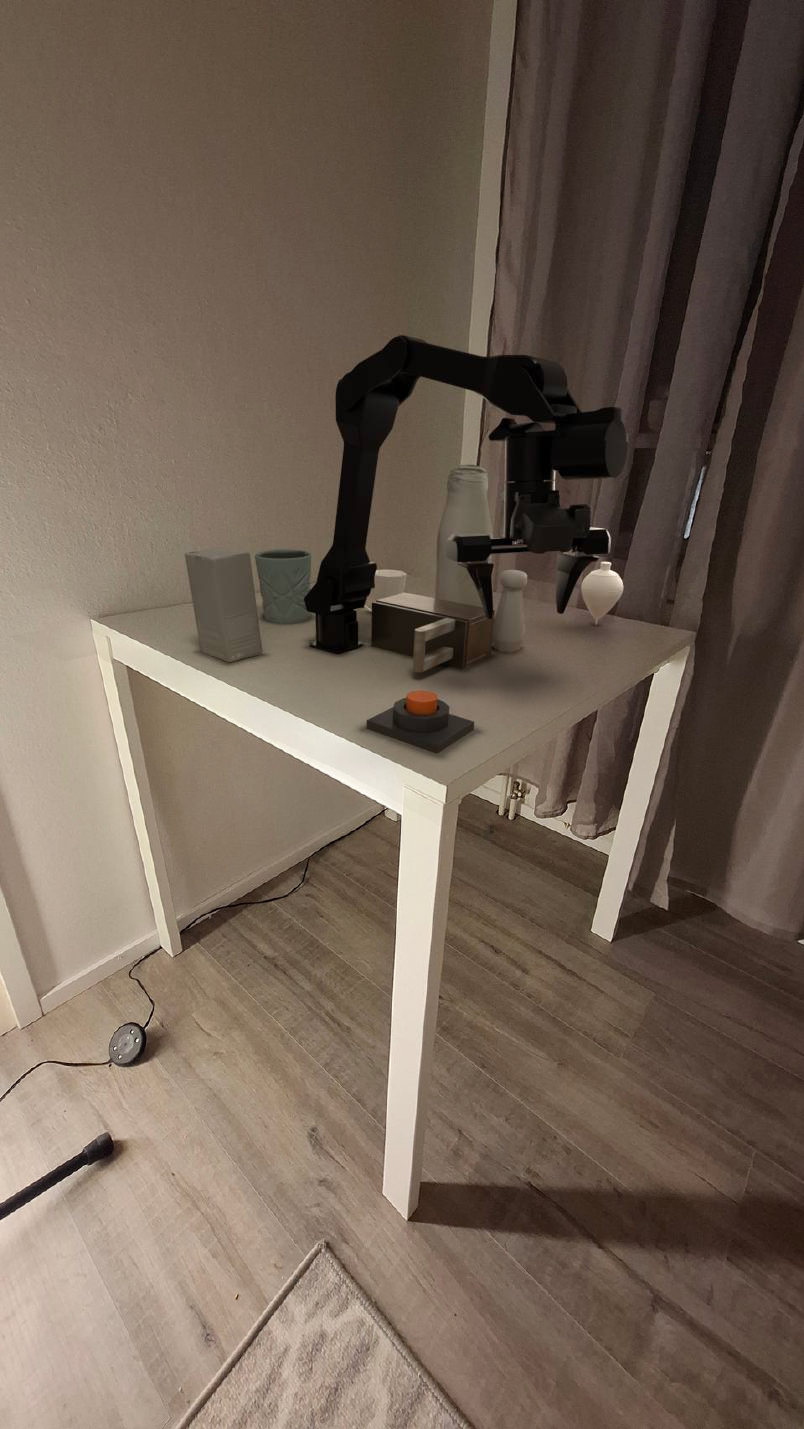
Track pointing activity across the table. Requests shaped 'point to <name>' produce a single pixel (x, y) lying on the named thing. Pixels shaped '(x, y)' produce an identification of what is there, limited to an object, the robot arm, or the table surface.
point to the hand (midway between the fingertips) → (525, 615)
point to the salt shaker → (510, 613)
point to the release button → (421, 702)
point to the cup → (388, 584)
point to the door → (419, 636)
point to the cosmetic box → (224, 603)
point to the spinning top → (601, 590)
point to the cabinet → (476, 617)
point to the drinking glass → (284, 584)
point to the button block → (421, 726)
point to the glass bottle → (461, 531)
